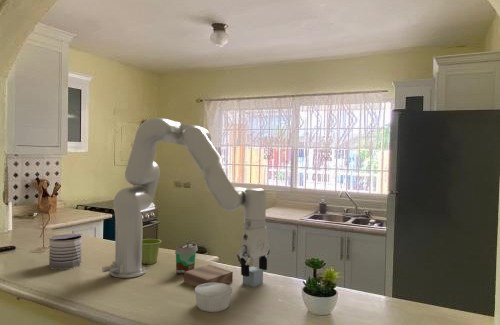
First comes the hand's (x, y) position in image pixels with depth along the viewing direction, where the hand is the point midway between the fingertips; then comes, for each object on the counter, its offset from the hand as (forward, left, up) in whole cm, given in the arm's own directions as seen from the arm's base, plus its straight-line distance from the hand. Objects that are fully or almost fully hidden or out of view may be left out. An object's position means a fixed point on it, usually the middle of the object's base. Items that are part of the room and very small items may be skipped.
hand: (254, 272), depth 131 cm
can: (-36, +65, -4) cm, 75 cm away
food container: (-7, +26, -4) cm, 28 cm away
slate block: (0, 0, -4) cm, 4 cm away
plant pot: (-11, +46, -4) cm, 48 cm away
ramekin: (-23, -4, -4) cm, 24 cm away
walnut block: (-10, +12, -4) cm, 17 cm away
